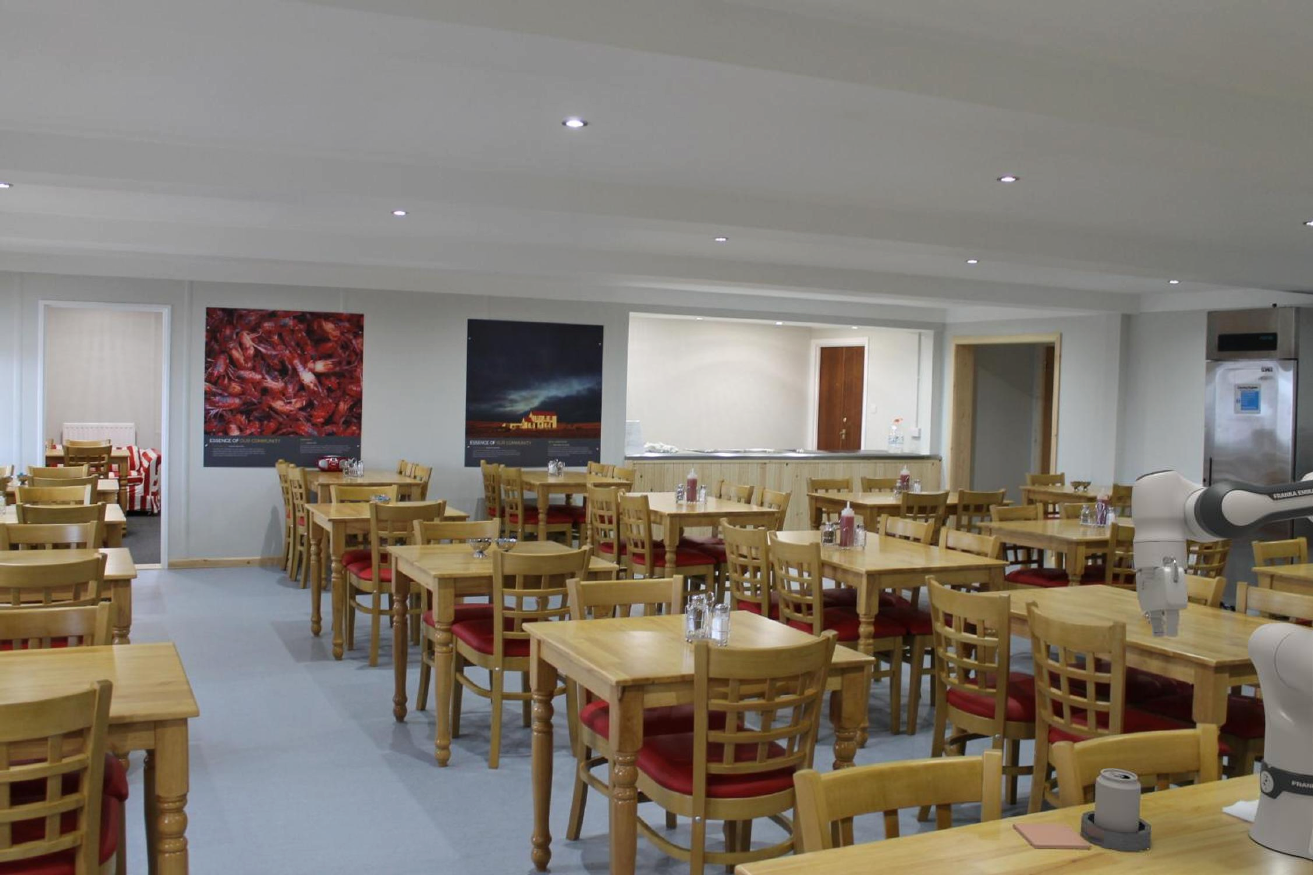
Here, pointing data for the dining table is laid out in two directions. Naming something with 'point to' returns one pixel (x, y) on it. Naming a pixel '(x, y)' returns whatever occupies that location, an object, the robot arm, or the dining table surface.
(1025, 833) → the tile
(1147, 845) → the ring
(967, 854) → the dining table surface
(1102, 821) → the can
